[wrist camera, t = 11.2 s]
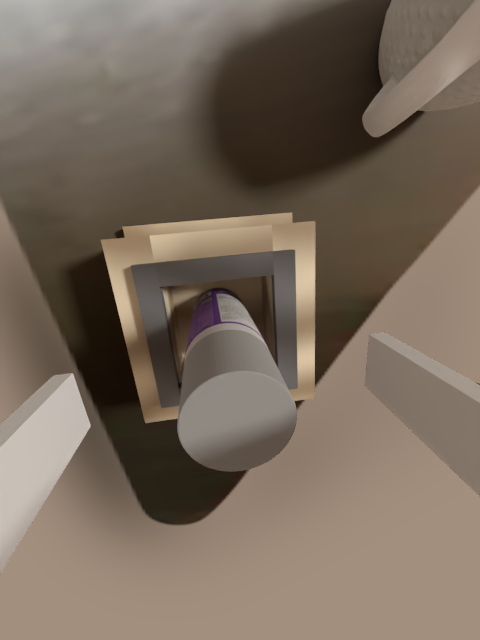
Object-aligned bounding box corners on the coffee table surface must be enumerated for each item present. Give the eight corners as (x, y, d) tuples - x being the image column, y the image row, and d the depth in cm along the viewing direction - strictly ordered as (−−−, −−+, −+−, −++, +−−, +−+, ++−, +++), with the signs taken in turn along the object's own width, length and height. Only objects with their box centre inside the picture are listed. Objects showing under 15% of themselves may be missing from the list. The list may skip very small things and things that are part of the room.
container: (201, 341, 24) (196, 488, 10) (186, 295, 23) (153, 390, 9) (249, 328, 24) (309, 453, 10) (236, 281, 23) (287, 351, 9)
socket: (126, 227, 21) (91, 222, 15) (288, 213, 23) (320, 203, 16) (160, 391, 26) (145, 440, 20) (292, 373, 28) (318, 413, 21)
